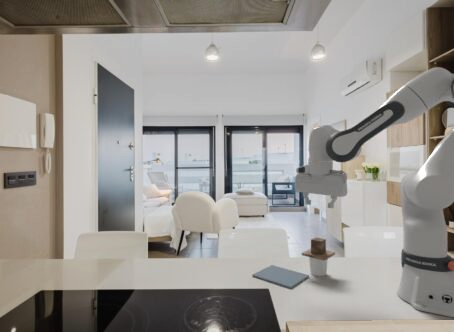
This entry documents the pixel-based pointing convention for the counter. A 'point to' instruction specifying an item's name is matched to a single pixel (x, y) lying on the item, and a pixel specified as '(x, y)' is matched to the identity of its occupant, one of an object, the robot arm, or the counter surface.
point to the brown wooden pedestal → (318, 250)
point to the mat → (281, 276)
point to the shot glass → (318, 266)
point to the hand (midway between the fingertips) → (319, 206)
